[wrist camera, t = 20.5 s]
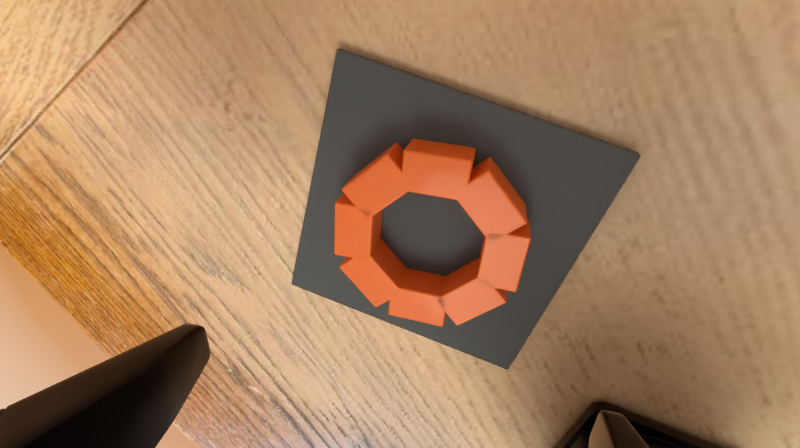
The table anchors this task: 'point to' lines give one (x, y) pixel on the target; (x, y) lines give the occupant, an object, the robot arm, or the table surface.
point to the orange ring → (447, 178)
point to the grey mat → (445, 218)
